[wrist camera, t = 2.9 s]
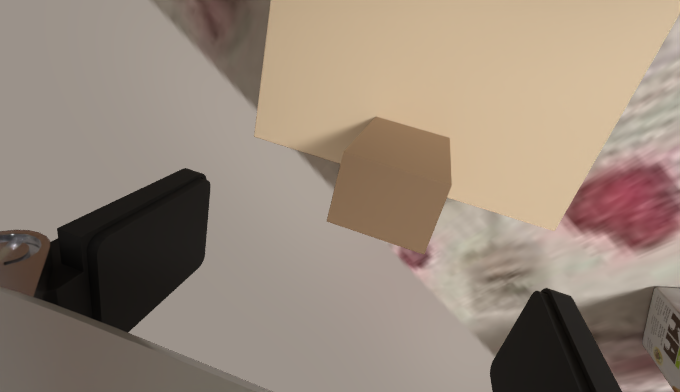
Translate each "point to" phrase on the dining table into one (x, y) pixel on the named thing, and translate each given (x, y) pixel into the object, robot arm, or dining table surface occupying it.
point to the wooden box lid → (453, 101)
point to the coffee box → (665, 333)
